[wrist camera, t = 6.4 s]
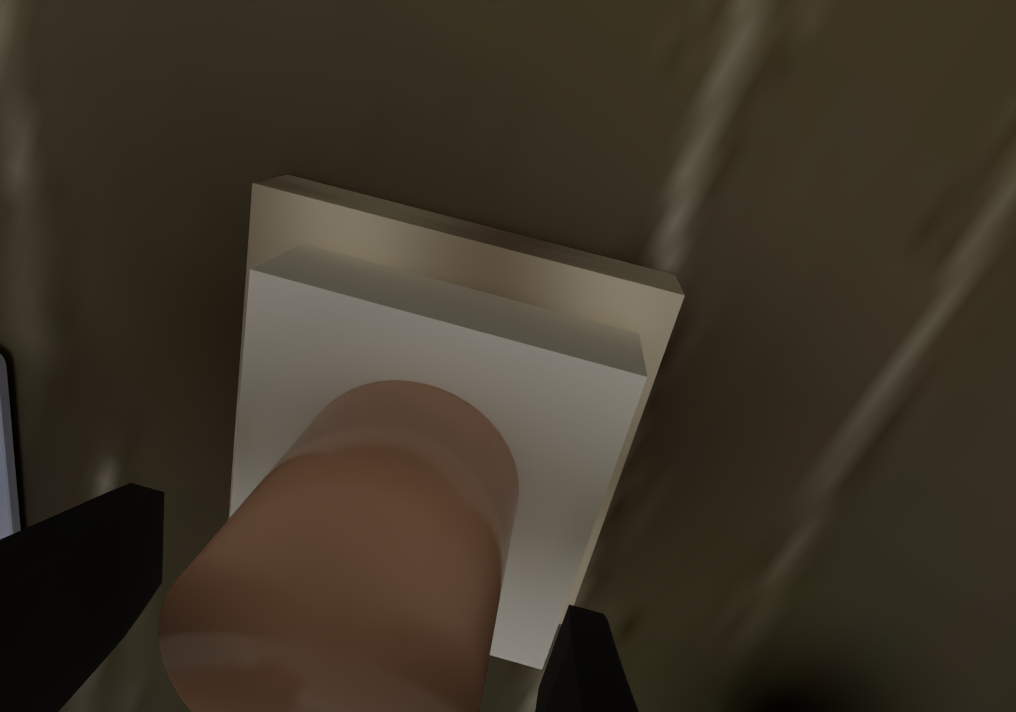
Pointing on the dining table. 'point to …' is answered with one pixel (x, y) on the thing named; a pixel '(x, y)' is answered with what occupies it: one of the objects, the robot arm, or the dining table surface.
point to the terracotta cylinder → (354, 566)
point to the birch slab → (470, 273)
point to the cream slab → (464, 373)
